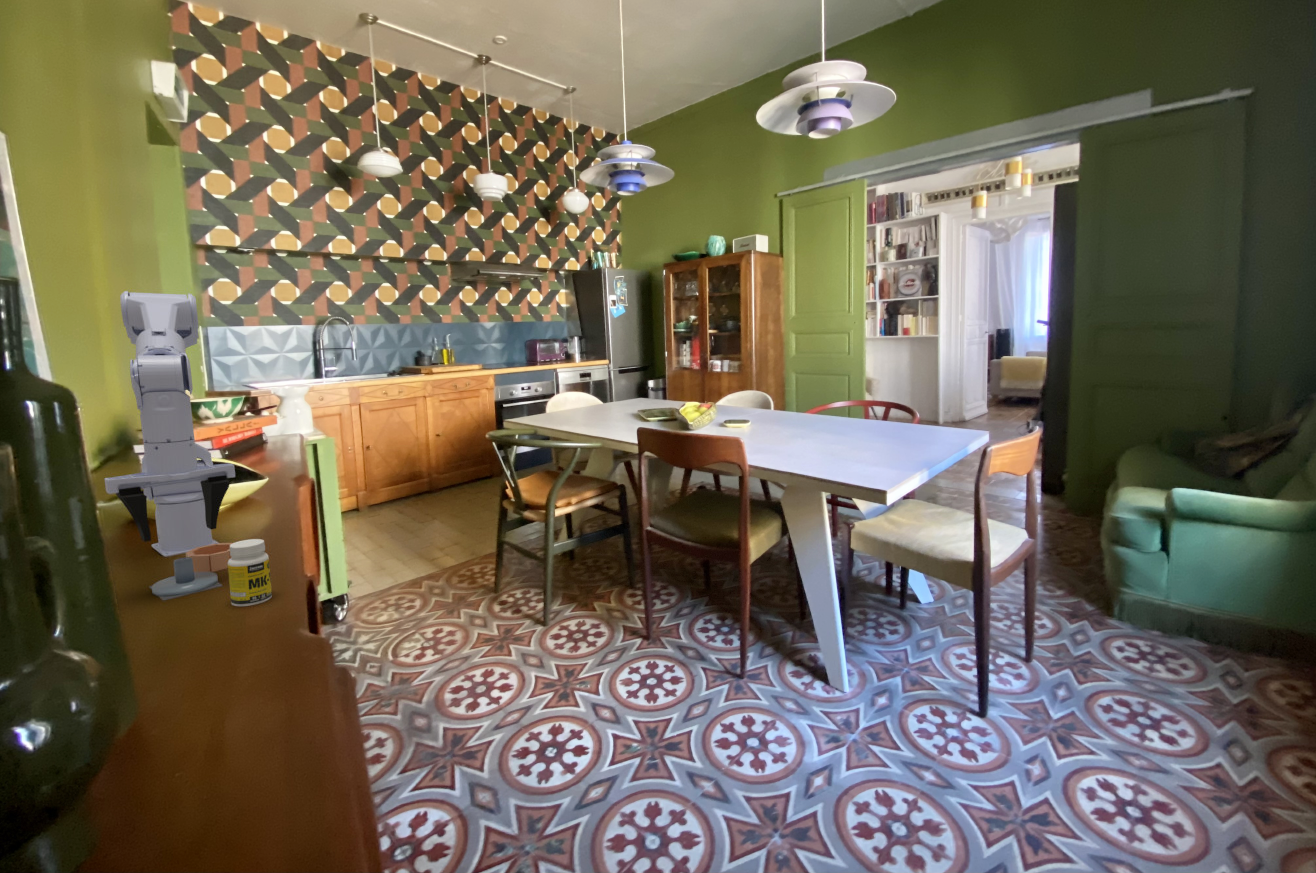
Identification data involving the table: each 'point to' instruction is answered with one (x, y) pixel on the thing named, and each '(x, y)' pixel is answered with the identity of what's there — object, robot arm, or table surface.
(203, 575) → the lid
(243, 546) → the supplement bottle
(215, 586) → the mat
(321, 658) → the table surface
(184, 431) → the robot arm
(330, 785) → the table surface
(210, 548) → the bowl
